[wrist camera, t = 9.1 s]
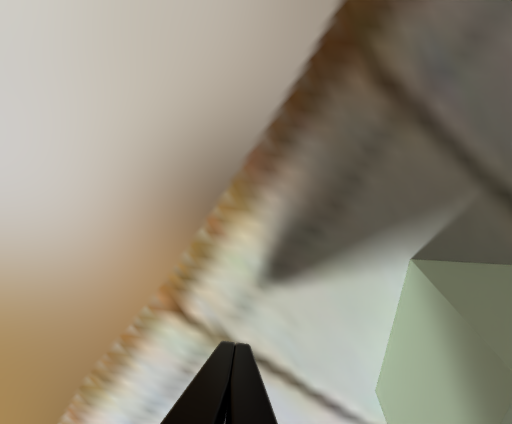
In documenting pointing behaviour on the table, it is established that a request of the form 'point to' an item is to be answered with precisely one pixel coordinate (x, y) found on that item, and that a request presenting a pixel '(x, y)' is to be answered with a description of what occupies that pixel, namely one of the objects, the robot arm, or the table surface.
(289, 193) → the table surface
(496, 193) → the table surface
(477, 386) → the sage green block
